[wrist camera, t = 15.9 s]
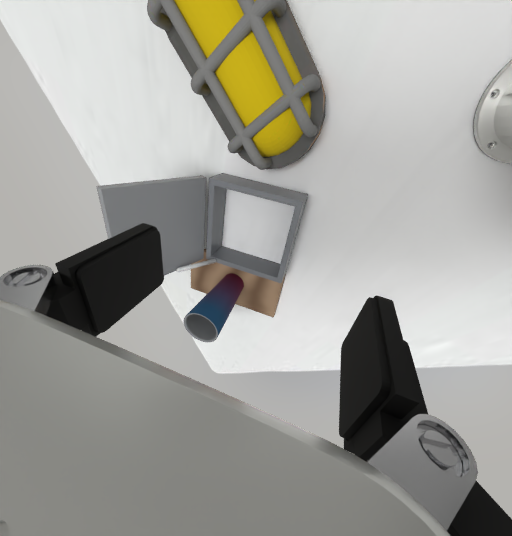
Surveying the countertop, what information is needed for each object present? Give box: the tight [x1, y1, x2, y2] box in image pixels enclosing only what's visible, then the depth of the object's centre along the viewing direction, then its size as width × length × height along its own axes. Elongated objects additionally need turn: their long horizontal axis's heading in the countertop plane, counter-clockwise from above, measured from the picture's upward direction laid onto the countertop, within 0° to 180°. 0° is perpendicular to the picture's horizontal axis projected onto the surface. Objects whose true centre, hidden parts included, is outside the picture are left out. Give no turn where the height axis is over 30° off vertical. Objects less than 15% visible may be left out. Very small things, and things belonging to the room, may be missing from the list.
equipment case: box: [176, 173, 308, 283], centre depth 41 cm, size 18×16×12 cm
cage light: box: [147, 0, 325, 170], centre depth 30 cm, size 15×8×30 cm
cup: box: [184, 273, 244, 342], centre depth 47 cm, size 7×7×15 cm
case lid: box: [97, 176, 206, 275], centre depth 38 cm, size 16×16×1 cm
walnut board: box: [191, 249, 286, 317], centre depth 54 cm, size 22×12×1 cm, turn 80°
